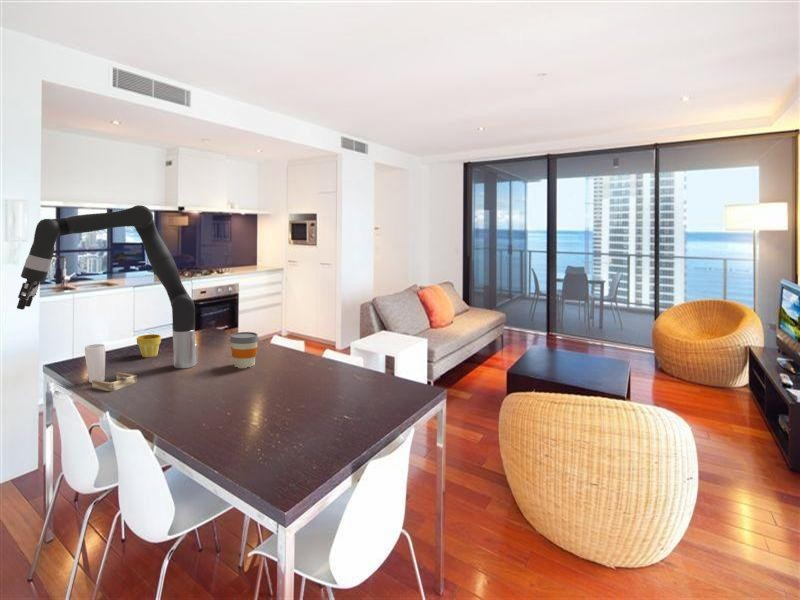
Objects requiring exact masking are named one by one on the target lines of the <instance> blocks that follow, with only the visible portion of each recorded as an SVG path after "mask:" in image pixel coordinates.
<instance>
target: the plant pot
mask: <svg viewBox="0 0 800 600" xmlns="http://www.w3.org/2000/svg"><path fill="white" fill-rule="evenodd" d="M161 343H162V337H161V334H155V333H152V334H151V333H150V334H143V335H138V336H137V337H136V344H137V345H138V348H139V350H140V353H141V354H140V355H141V356H142V357H143V358H153V357H157V356H158V353H159V347H160V344H161Z"/></svg>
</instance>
